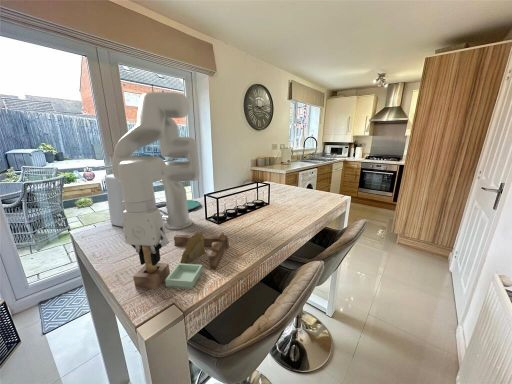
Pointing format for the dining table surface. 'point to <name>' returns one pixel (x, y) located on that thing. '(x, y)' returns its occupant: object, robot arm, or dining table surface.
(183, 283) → the tray
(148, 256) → the dowel
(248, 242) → the dining table surface
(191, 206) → the cutlery set
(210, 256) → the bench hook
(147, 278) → the holder
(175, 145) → the robot arm
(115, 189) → the plastic bottle
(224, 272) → the dining table surface
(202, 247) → the rock
